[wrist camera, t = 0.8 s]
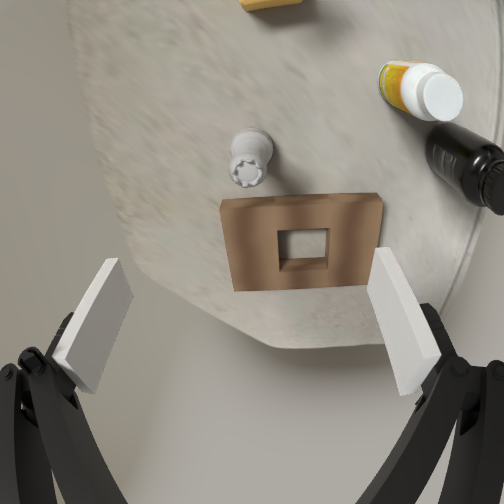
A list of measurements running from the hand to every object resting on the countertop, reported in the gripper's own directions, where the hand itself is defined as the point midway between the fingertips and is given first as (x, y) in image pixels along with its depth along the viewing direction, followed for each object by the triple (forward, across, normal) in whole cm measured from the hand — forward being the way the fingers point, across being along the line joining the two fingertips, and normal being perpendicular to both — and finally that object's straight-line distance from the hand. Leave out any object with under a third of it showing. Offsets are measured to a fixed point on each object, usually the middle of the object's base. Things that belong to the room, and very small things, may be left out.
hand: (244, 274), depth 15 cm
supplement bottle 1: (+19, +16, +8) cm, 26 cm away
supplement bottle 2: (+19, +23, +2) cm, 30 cm away
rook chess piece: (+20, 0, +1) cm, 20 cm away
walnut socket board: (+20, +5, -11) cm, 23 cm away
